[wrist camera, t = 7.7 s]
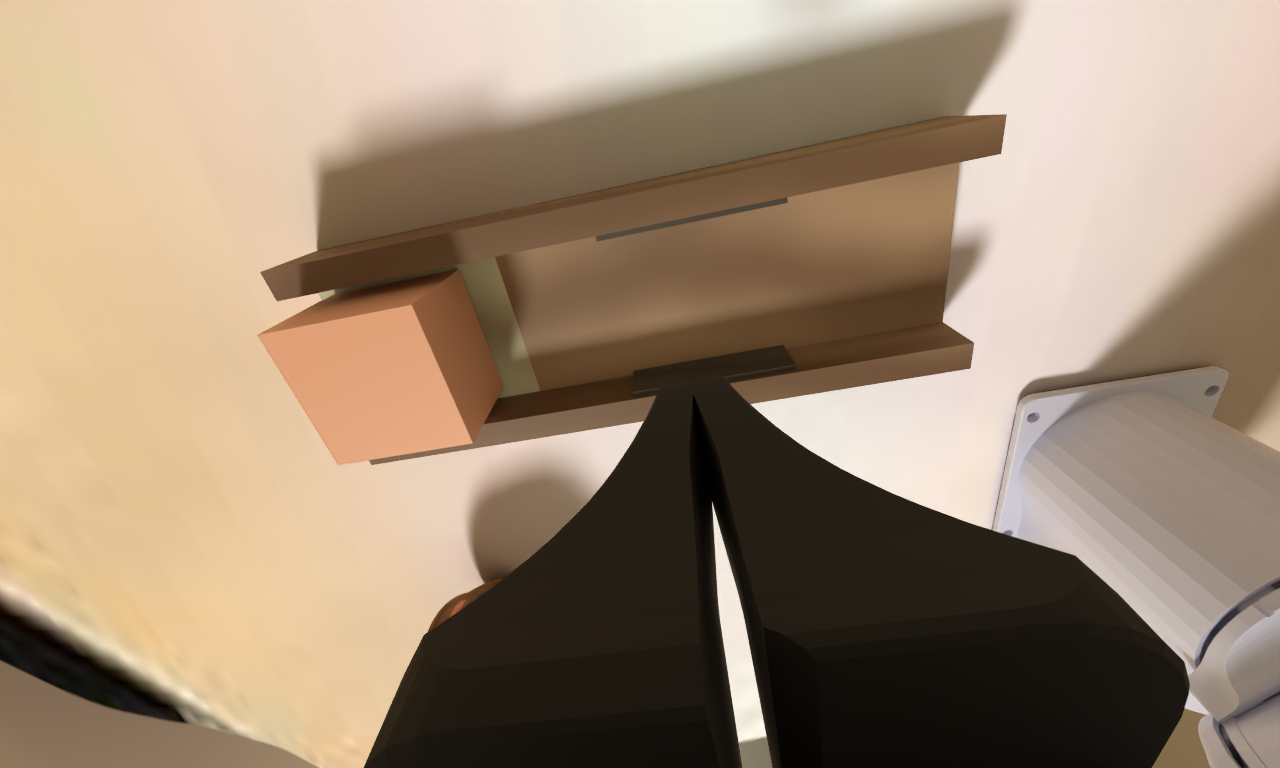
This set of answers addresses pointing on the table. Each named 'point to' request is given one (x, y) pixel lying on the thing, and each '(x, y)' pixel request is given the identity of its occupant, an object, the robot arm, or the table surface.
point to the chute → (699, 279)
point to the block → (389, 367)
